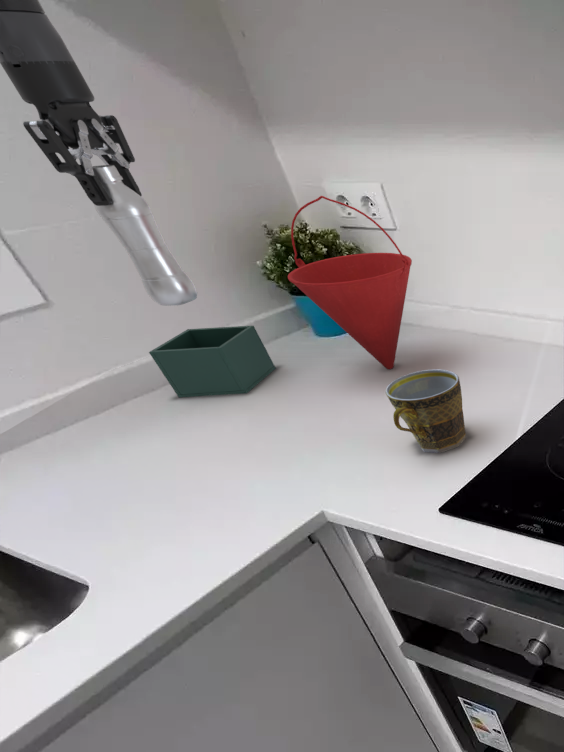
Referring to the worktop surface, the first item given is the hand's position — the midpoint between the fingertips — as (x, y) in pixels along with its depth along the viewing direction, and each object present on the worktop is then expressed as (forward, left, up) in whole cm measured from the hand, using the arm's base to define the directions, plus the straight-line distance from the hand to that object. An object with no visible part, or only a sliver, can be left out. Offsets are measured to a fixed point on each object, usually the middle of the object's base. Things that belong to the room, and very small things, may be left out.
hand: (119, 200), depth 84 cm
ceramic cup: (+46, -28, -31) cm, 62 cm away
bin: (0, +1, -31) cm, 31 cm away
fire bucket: (+29, +3, -31) cm, 42 cm away
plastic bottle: (0, 0, -16) cm, 16 cm away
